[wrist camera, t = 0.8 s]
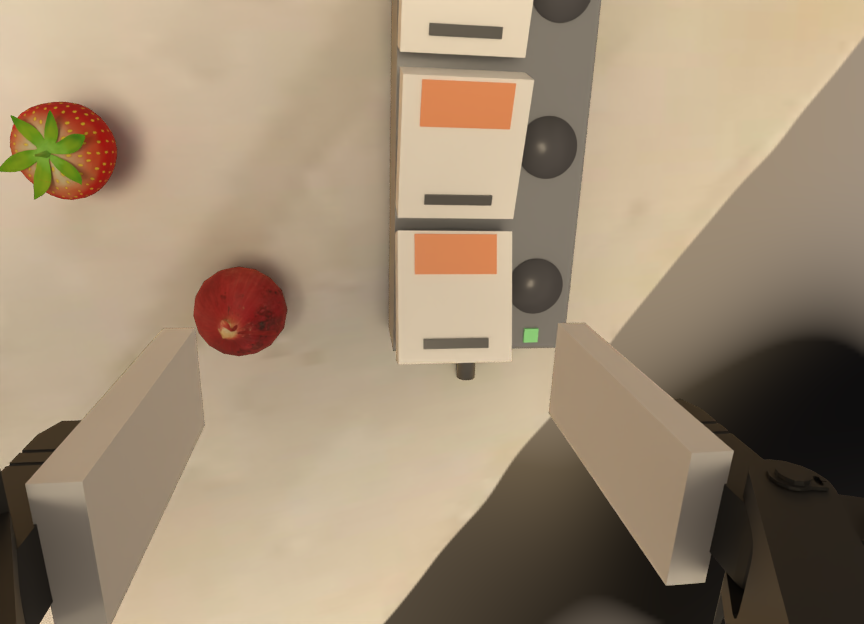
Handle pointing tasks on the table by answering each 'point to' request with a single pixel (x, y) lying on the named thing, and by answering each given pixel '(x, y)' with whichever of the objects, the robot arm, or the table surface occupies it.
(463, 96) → the rocker
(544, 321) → the power strip
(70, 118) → the fruit
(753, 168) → the table surface
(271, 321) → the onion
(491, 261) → the panel
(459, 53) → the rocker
